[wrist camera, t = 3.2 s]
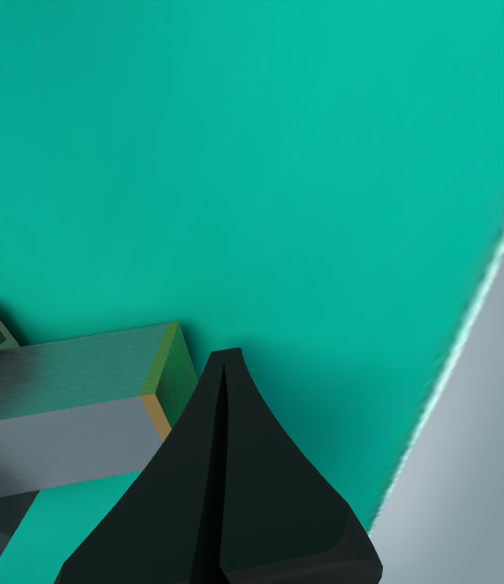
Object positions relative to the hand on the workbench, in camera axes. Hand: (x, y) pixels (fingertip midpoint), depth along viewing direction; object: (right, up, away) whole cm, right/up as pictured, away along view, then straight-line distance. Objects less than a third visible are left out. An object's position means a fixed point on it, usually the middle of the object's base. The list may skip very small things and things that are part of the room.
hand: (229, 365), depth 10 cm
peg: (-9, -1, +1) cm, 9 cm away
